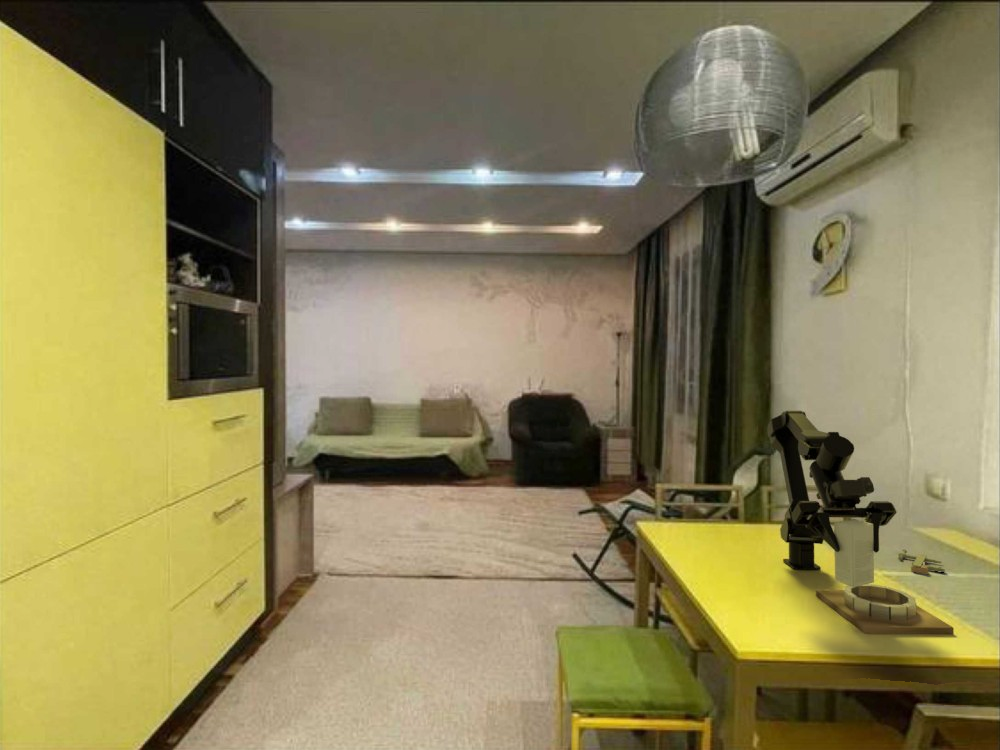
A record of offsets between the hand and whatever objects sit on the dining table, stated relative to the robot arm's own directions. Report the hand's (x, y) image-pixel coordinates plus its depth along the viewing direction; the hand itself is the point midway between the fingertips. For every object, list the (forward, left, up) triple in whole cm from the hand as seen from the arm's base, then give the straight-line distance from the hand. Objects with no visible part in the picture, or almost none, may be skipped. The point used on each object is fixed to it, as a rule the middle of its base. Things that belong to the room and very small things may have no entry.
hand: (857, 551), depth 114 cm
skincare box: (-1, 0, -7) cm, 7 cm away
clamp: (-30, +33, -14) cm, 47 cm away
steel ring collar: (-2, +5, -12) cm, 13 cm away
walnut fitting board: (-2, +5, -13) cm, 14 cm away
